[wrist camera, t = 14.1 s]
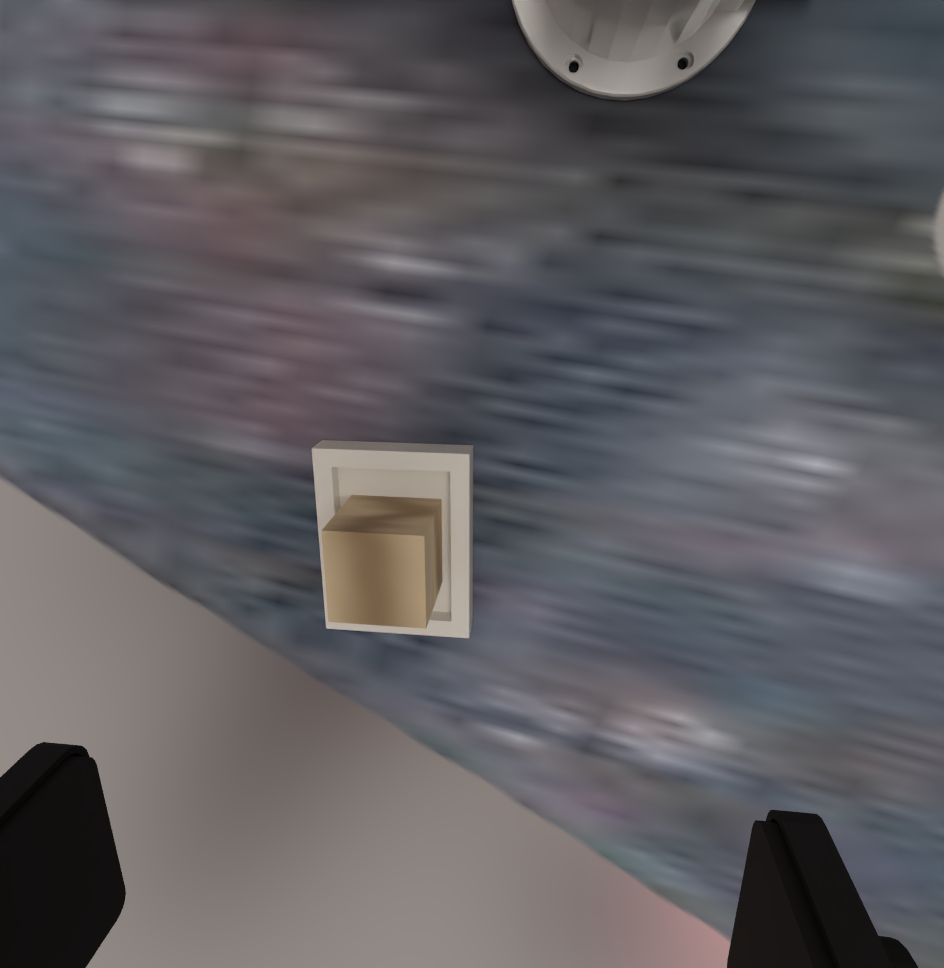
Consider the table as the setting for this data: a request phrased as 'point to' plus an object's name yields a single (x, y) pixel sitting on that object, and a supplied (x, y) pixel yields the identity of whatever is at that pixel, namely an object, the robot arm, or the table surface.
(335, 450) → the dish
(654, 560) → the table surface
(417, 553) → the oak cube
